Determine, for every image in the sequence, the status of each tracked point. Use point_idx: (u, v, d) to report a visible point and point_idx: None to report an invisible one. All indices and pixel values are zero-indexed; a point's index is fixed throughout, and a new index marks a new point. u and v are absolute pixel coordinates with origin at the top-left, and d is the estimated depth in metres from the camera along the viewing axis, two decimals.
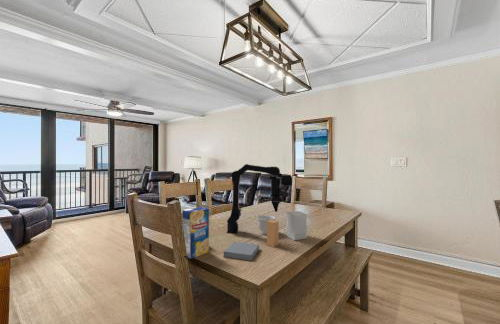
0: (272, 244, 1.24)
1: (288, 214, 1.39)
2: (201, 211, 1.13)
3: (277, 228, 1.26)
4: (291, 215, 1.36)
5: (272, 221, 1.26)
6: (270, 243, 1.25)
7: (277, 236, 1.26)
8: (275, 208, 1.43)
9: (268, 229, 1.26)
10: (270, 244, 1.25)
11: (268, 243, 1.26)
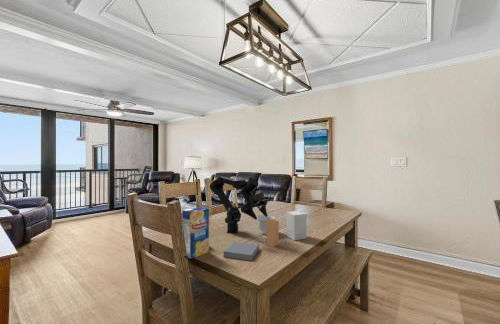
0: (272, 244, 1.24)
1: (288, 214, 1.39)
2: (201, 211, 1.13)
3: (277, 228, 1.26)
4: (291, 215, 1.36)
5: (272, 221, 1.26)
6: (270, 243, 1.25)
7: (277, 236, 1.26)
8: (253, 216, 1.30)
9: (268, 229, 1.26)
10: (270, 244, 1.25)
11: (268, 243, 1.26)
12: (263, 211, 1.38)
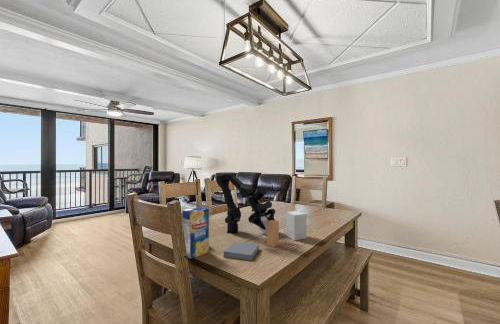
0: (272, 244, 1.24)
1: (288, 214, 1.39)
2: (201, 211, 1.13)
3: (277, 228, 1.26)
4: (291, 215, 1.36)
5: (272, 221, 1.26)
6: (270, 243, 1.25)
7: (277, 236, 1.26)
8: (261, 226, 1.25)
9: (268, 229, 1.26)
10: (270, 244, 1.25)
11: (268, 243, 1.26)
12: None
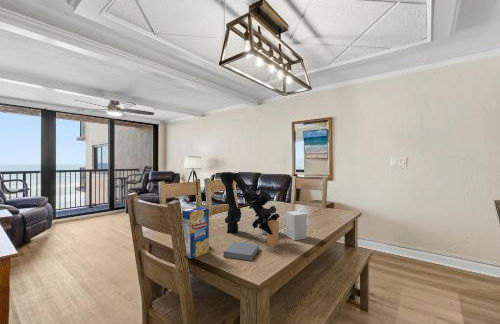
0: (272, 244, 1.24)
1: (288, 214, 1.39)
2: (201, 211, 1.13)
3: (277, 228, 1.26)
4: (291, 215, 1.36)
5: (272, 221, 1.26)
6: (270, 243, 1.25)
7: (277, 236, 1.26)
8: (268, 231, 1.25)
9: None
10: (270, 244, 1.25)
11: (268, 243, 1.26)
12: None
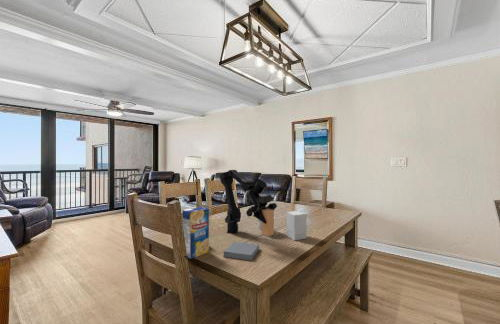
0: (266, 233, 1.21)
1: (288, 214, 1.39)
2: (201, 211, 1.13)
3: (272, 217, 1.22)
4: (291, 215, 1.36)
5: (267, 210, 1.23)
6: (265, 232, 1.22)
7: (272, 225, 1.22)
8: (262, 220, 1.22)
9: None
10: (264, 233, 1.22)
11: (263, 232, 1.23)
12: None
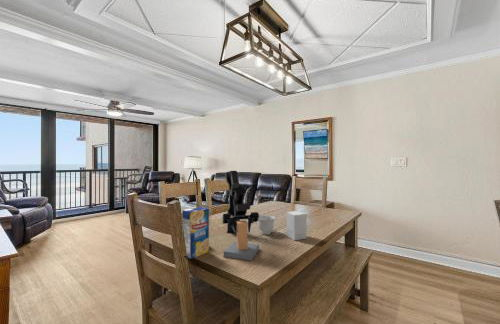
0: (238, 247, 1.13)
1: (288, 214, 1.39)
2: (201, 211, 1.13)
3: (245, 230, 1.14)
4: (291, 215, 1.36)
5: (241, 222, 1.15)
6: (237, 245, 1.15)
7: (245, 239, 1.14)
8: (233, 229, 1.15)
9: (237, 230, 1.16)
10: (237, 246, 1.15)
11: (237, 245, 1.16)
12: (248, 225, 1.18)
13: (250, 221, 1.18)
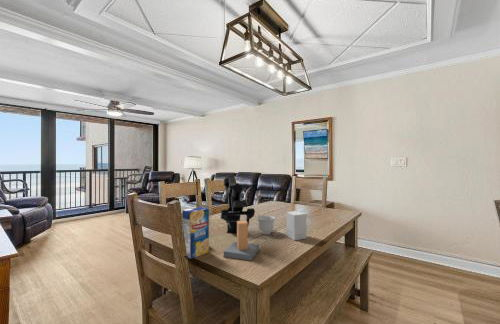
0: (238, 247, 1.13)
1: (288, 214, 1.39)
2: (201, 211, 1.13)
3: (245, 230, 1.14)
4: (291, 215, 1.36)
5: (241, 222, 1.15)
6: (237, 245, 1.15)
7: (245, 239, 1.14)
8: (228, 224, 1.24)
9: (237, 230, 1.16)
10: (237, 246, 1.15)
11: (237, 245, 1.16)
12: (247, 220, 1.27)
13: (249, 216, 1.27)
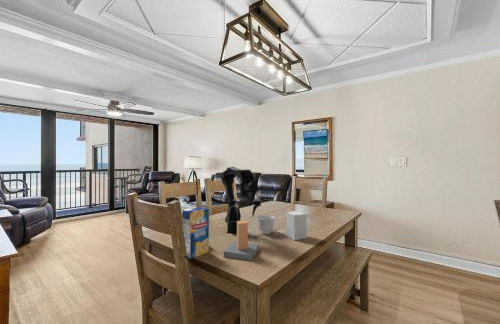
0: (238, 247, 1.13)
1: (288, 214, 1.39)
2: (201, 211, 1.13)
3: (245, 230, 1.14)
4: (291, 215, 1.36)
5: (241, 222, 1.15)
6: (237, 245, 1.15)
7: (245, 239, 1.14)
8: None
9: (237, 230, 1.16)
10: (237, 246, 1.15)
11: (237, 245, 1.16)
12: None
13: (254, 209, 1.34)
